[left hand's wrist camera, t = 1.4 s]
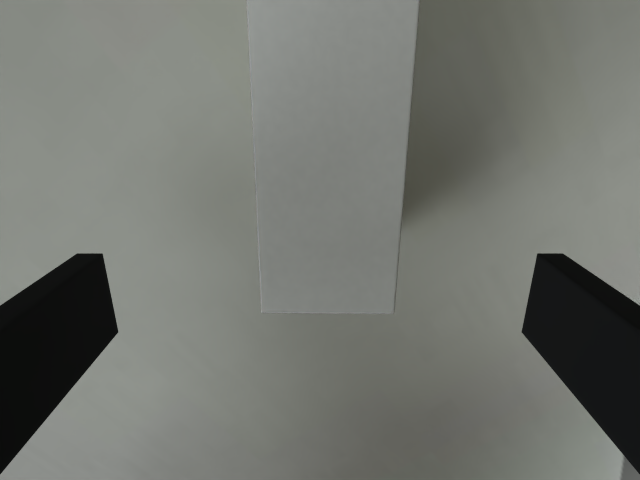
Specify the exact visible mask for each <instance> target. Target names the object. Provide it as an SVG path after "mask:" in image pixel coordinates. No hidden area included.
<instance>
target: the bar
mask: <svg viewBox="0 0 640 480" xmlns="http://www.w3.org/2000/svg"><path fill="white" fill-rule="evenodd" d="M246 1H247V22H248V43H249V65H250V86H251V107H252V129H253V150H254V171H255V193H256V214H257V235H258V257H259V278H260V299H261V312H262V313H339V314H394V310H395V298H396V285H397V273H398V261H399V249H400V237H401V224H402V212H403V200H404V188H405V176H406V163H407V151H408V139H409V127H410V115H411V102H412V90H413V78H414V66H415V54H416V41H417V29H418V17H419V5H420V0H246Z"/></svg>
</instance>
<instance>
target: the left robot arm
mask: <svg viewBox="0 0 640 480" xmlns="http://www.w3.org/2000/svg"><path fill="white" fill-rule="evenodd" d="M117 333H118V328H117V323H116V318H115V313H114V308H113V303H112V298H111V293H110V288H109V283H108V278H107V273H106V268H105V263H104V258H103V254H76V255H74V256H73V257H71V258H70V259H68V260H67V261H66V262H64V263H63V264H61V265H60V266H58V267H57V268H55V269H54V270H52V271H51V272H49V273H48V274H46V275H45V276H43V277H42V278H40V279H39V280H37V281H36V282H35V283H33V284H32V285H30V286H29V287H27V288H26V289H24V290H23V291H21V292H20V293H18V294H17V295H15V296H14V297H12V298H11V299H9V300H8V301H6V302H5V303H4V304H2V305H1V306H0V474H1V473H2V472H3V470H4V469H5V468H6V467H7V466H8V464H9V463H10V462H11V461H12V460H13V458H14V457H15V456H16V455H17V453H18V452H19V451H20V450H21V449H22V447H23V446H24V445H25V444H26V443H27V441H28V440H29V439H30V438H31V437H32V435H33V434H34V433H35V432H36V431H37V429H38V428H39V427H40V426H41V425H42V423H43V422H44V421H45V420H46V419H47V417H48V416H49V415H50V414H51V413H52V411H53V410H54V409H55V408H56V407H57V405H58V404H59V403H60V402H61V400H62V399H63V398H64V397H65V396H66V394H67V393H68V392H69V391H70V390H71V388H72V387H73V386H74V385H75V384H76V382H77V381H78V380H79V379H80V378H81V376H82V375H83V374H84V373H85V372H86V370H87V369H88V368H89V367H90V366H91V364H92V363H93V362H94V361H95V360H96V358H97V357H98V356H99V355H100V353H101V352H102V351H103V350H104V349H105V347H106V346H107V345H108V344H109V343H110V341H111V340H112V339H113V338H114V337H115V335H116V334H117ZM522 333H523V334H524V335H525V337H526V338H527V339H528V340H529V341H530V343H531V344H532V345H533V346H534V347H535V349H536V350H537V351H538V352H539V353H540V355H541V356H542V357H543V358H544V360H545V361H546V362H547V363H548V364H549V366H550V367H551V368H552V369H553V370H554V372H555V373H556V374H557V375H558V376H559V378H560V379H561V380H562V381H563V382H564V384H565V385H566V386H567V387H568V388H569V390H570V391H571V392H572V393H573V394H574V396H575V397H576V398H577V399H578V400H579V402H580V403H581V404H582V405H583V407H584V408H585V409H586V410H587V411H588V413H589V414H590V415H591V416H592V417H593V419H594V420H595V421H596V422H597V423H598V425H599V426H600V427H601V428H602V429H603V431H604V432H605V433H606V434H607V435H608V437H609V438H610V439H611V440H612V441H613V443H614V444H615V445H616V446H617V447H618V449H619V450H620V451H621V452H622V453H623V455H624V456H625V457H626V458H627V460H628V461H629V462H630V463H631V464H632V466H633V467H634V468H635V469H636V470H637V472H638V473H639V474H640V306H639V305H638V304H636V303H635V302H634V301H632V300H631V299H629V298H628V297H626V296H625V295H623V294H622V293H620V292H619V291H617V290H616V289H614V288H613V287H611V286H610V285H608V284H607V283H605V282H604V281H603V280H601V279H600V278H598V277H597V276H595V275H594V274H592V273H591V272H589V271H588V270H586V269H585V268H583V267H582V266H580V265H579V264H577V263H576V262H574V261H573V260H572V259H570V258H569V257H567V256H566V255H564V254H537V258H536V263H535V268H534V273H533V278H532V283H531V288H530V293H529V298H528V303H527V308H526V313H525V318H524V323H523V328H522Z"/></svg>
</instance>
